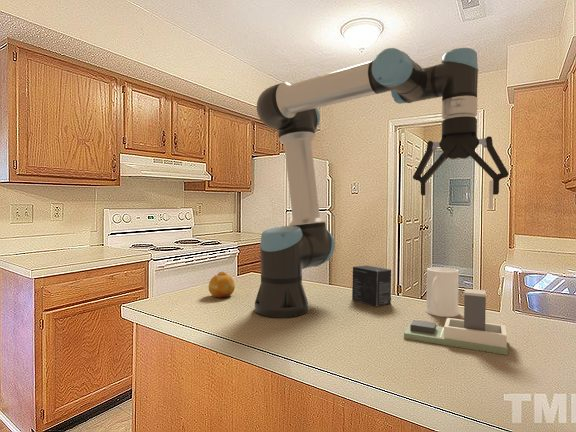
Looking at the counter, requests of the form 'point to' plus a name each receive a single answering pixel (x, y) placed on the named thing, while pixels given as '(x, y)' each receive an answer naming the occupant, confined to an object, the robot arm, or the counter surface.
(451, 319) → the tray
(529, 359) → the counter surface
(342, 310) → the counter surface
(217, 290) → the fruit
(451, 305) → the white upright cylinder
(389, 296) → the box
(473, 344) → the board
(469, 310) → the plug
